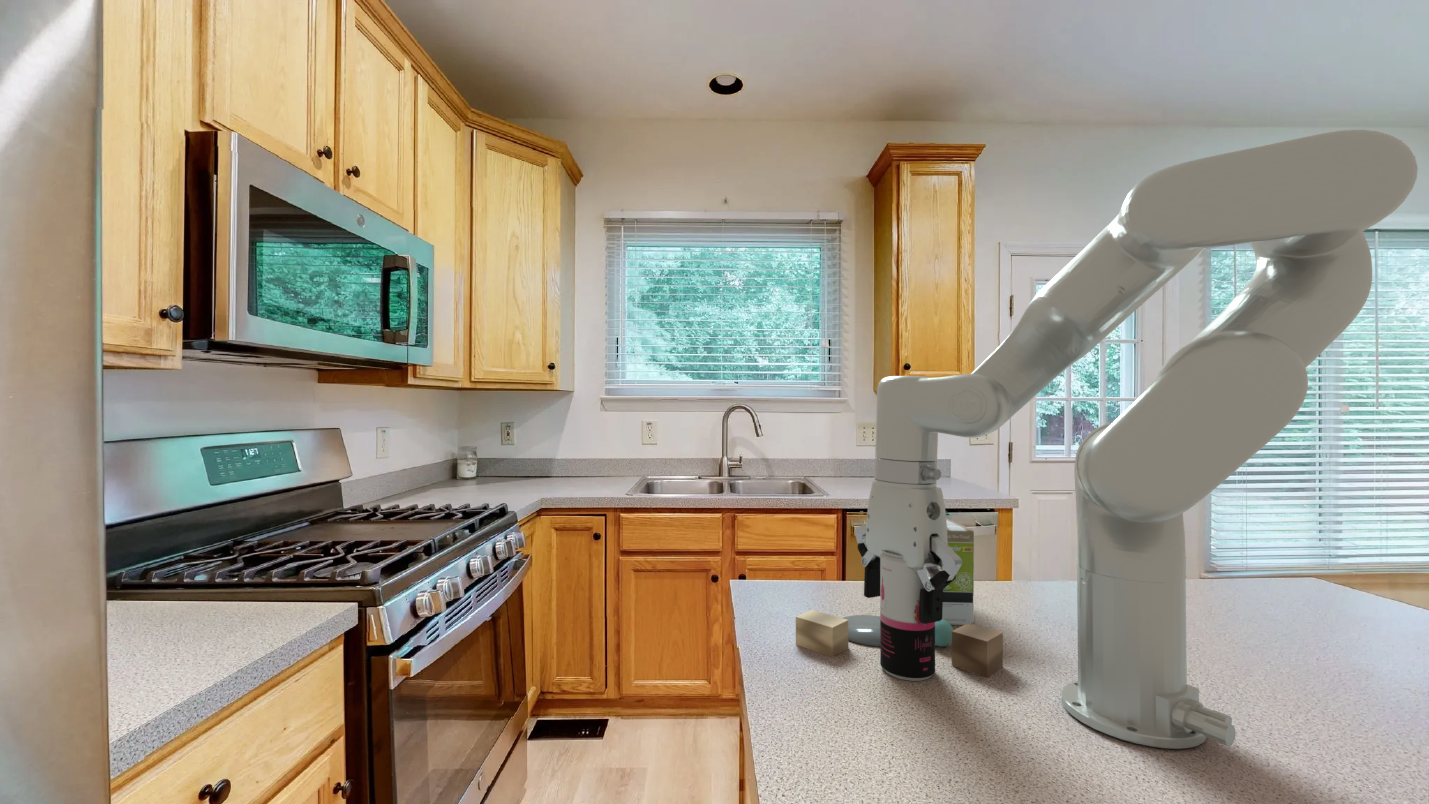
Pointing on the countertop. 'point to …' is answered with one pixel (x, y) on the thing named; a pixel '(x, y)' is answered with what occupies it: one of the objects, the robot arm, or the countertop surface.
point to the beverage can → (904, 622)
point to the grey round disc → (864, 629)
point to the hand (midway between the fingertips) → (900, 608)
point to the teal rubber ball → (943, 633)
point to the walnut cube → (977, 649)
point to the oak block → (822, 632)
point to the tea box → (960, 577)
